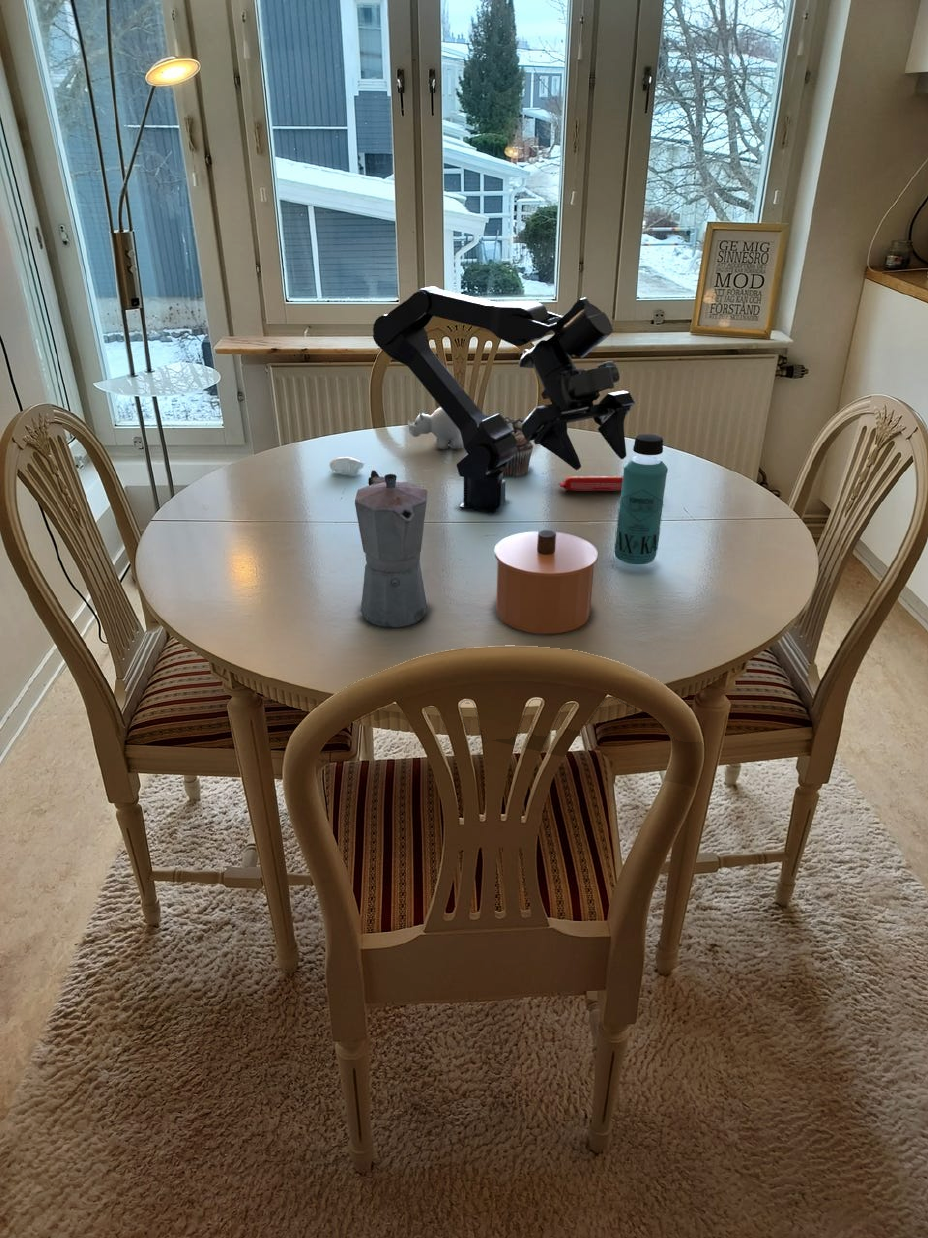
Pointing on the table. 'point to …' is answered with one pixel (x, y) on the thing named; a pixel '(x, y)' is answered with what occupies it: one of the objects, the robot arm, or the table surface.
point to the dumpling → (346, 465)
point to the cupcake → (518, 450)
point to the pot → (543, 600)
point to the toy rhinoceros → (437, 429)
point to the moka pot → (392, 550)
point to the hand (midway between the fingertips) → (601, 463)
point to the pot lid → (546, 553)
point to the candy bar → (592, 483)
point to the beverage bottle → (641, 502)
